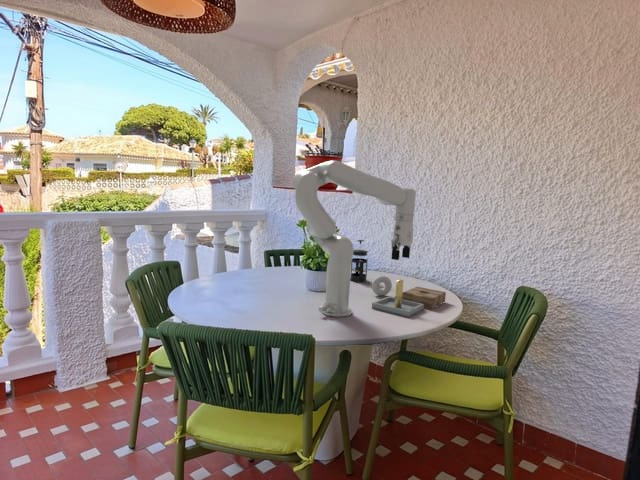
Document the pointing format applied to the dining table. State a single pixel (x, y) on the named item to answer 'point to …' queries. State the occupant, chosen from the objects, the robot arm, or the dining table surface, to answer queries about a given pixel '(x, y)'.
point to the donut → (377, 281)
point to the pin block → (425, 296)
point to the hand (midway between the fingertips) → (400, 258)
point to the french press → (359, 276)
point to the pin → (398, 293)
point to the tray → (406, 309)
